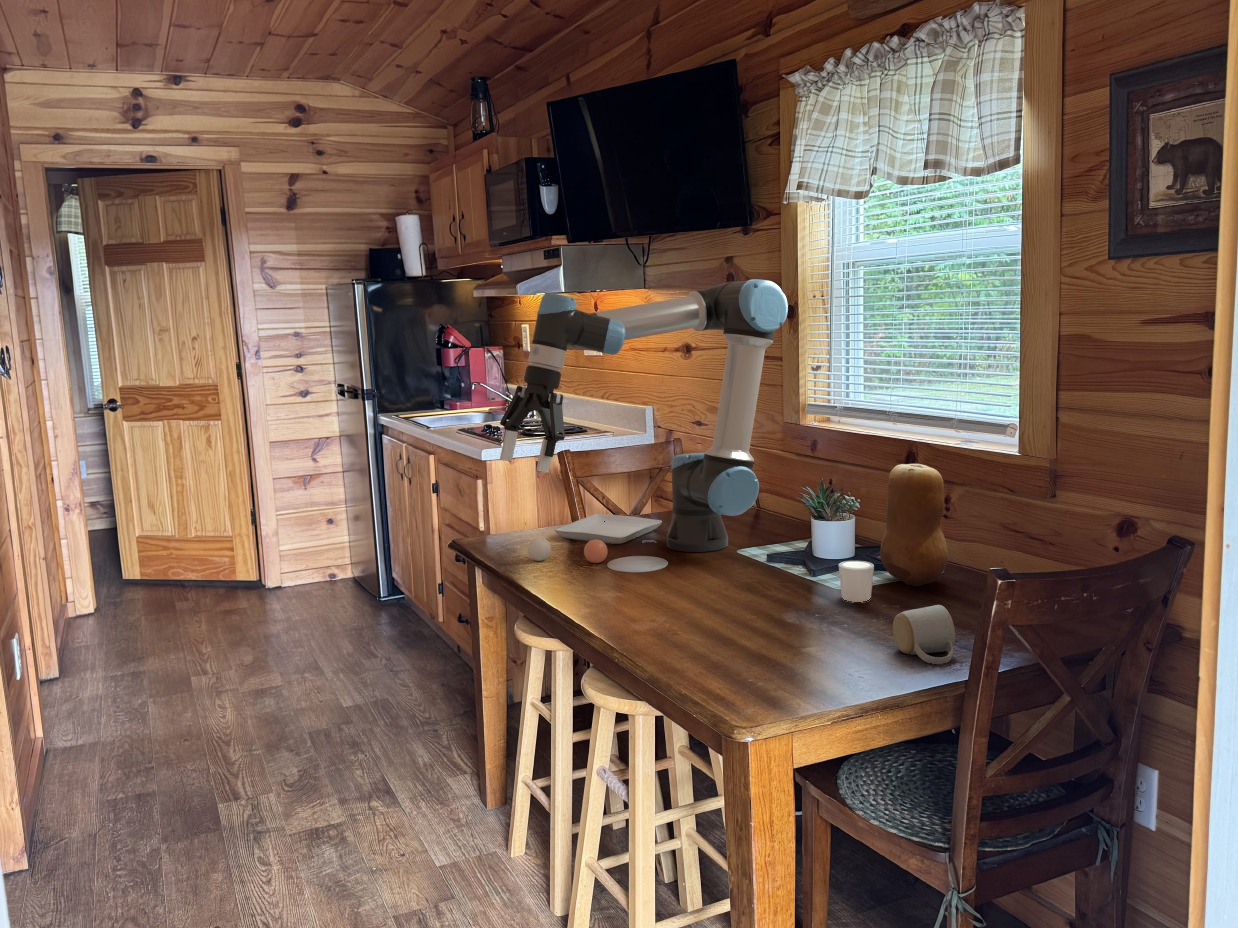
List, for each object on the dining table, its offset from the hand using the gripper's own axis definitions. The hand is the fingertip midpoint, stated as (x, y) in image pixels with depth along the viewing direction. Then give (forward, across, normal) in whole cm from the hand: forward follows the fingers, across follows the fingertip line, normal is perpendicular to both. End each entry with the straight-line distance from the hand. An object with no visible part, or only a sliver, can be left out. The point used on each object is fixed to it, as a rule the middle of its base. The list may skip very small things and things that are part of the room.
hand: (523, 466), depth 211 cm
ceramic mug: (+14, +85, +28) cm, 90 cm away
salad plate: (+17, -23, +49) cm, 56 cm away
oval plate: (+18, +5, +34) cm, 39 cm away
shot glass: (+11, +57, +45) cm, 74 cm away
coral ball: (+17, -3, +28) cm, 33 cm away
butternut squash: (+7, +59, +61) cm, 85 cm away
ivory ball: (+20, -15, +20) cm, 32 cm away
